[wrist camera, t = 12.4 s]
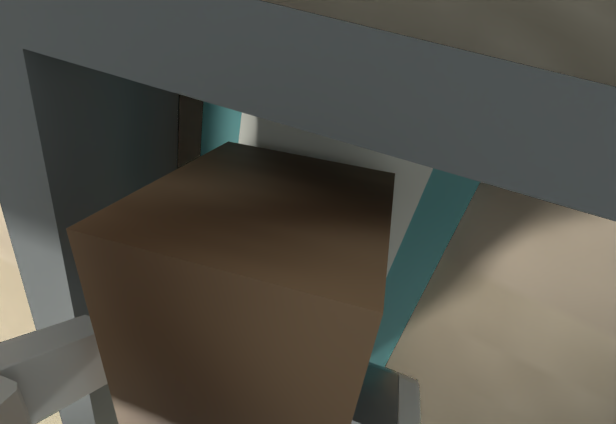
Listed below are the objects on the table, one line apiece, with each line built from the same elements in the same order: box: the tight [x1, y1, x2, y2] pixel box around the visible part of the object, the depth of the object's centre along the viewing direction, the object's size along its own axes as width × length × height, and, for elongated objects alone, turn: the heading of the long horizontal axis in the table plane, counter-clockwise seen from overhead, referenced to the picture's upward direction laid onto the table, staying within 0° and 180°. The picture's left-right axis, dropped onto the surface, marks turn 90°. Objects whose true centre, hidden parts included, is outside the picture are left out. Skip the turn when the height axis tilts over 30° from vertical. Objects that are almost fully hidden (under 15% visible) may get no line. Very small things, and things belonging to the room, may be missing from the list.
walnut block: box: [66, 141, 395, 424], centre depth 9 cm, size 4×9×5 cm, turn 174°
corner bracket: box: [0, 0, 616, 424], centre depth 10 cm, size 16×15×4 cm
